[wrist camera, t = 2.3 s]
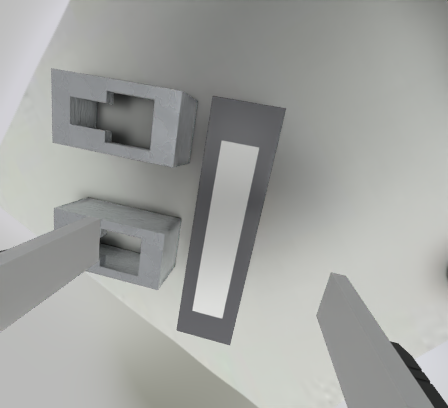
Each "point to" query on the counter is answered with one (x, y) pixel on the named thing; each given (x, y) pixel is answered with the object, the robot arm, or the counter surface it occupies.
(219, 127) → the grey long block
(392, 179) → the counter surface
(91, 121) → the keyhole plates
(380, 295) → the counter surface
